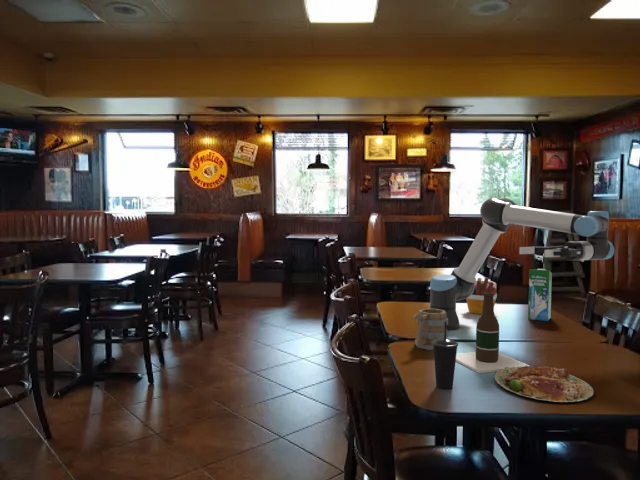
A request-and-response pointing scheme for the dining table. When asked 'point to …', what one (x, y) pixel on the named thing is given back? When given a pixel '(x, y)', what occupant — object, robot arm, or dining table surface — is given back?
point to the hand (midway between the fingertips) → (532, 252)
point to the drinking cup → (444, 361)
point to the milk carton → (539, 294)
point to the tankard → (429, 327)
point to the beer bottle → (487, 332)
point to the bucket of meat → (480, 295)
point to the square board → (483, 367)
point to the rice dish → (544, 383)
